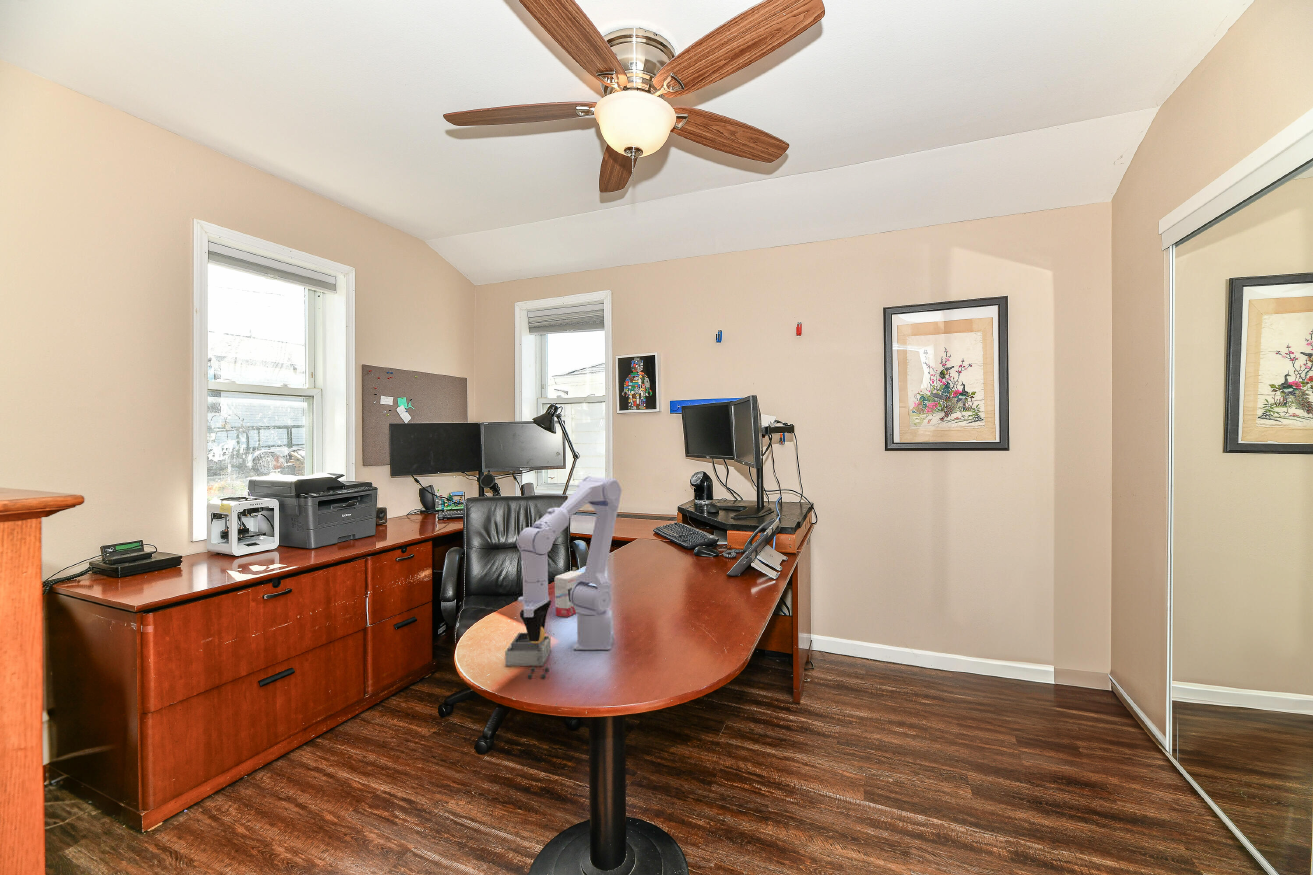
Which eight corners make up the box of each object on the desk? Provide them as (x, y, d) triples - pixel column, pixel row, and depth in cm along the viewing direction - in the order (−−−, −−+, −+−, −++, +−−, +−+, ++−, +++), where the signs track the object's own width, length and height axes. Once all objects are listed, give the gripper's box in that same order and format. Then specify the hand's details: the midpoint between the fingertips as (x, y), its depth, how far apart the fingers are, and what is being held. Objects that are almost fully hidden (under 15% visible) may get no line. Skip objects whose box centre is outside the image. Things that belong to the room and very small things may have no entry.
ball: (536, 638, 127) (535, 621, 127) (548, 641, 125) (548, 624, 125) (524, 644, 124) (523, 627, 123) (537, 647, 122) (536, 630, 121)
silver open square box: (550, 649, 137) (550, 630, 136) (542, 665, 128) (542, 645, 127) (516, 650, 137) (515, 630, 137) (505, 665, 128) (505, 645, 128)
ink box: (567, 618, 159) (566, 579, 159) (554, 615, 162) (553, 577, 161) (584, 609, 167) (584, 572, 166) (572, 606, 169) (571, 570, 169)
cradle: (548, 670, 125) (548, 667, 125) (544, 678, 121) (544, 675, 121) (531, 670, 125) (531, 667, 125) (527, 678, 121) (527, 675, 121)
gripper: (526, 570, 131) (527, 624, 132) (509, 588, 117) (510, 649, 117) (554, 570, 131) (555, 624, 131) (541, 588, 117) (542, 649, 117)
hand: (536, 636), depth 124 cm, fingers closed on ball, 4 cm apart
